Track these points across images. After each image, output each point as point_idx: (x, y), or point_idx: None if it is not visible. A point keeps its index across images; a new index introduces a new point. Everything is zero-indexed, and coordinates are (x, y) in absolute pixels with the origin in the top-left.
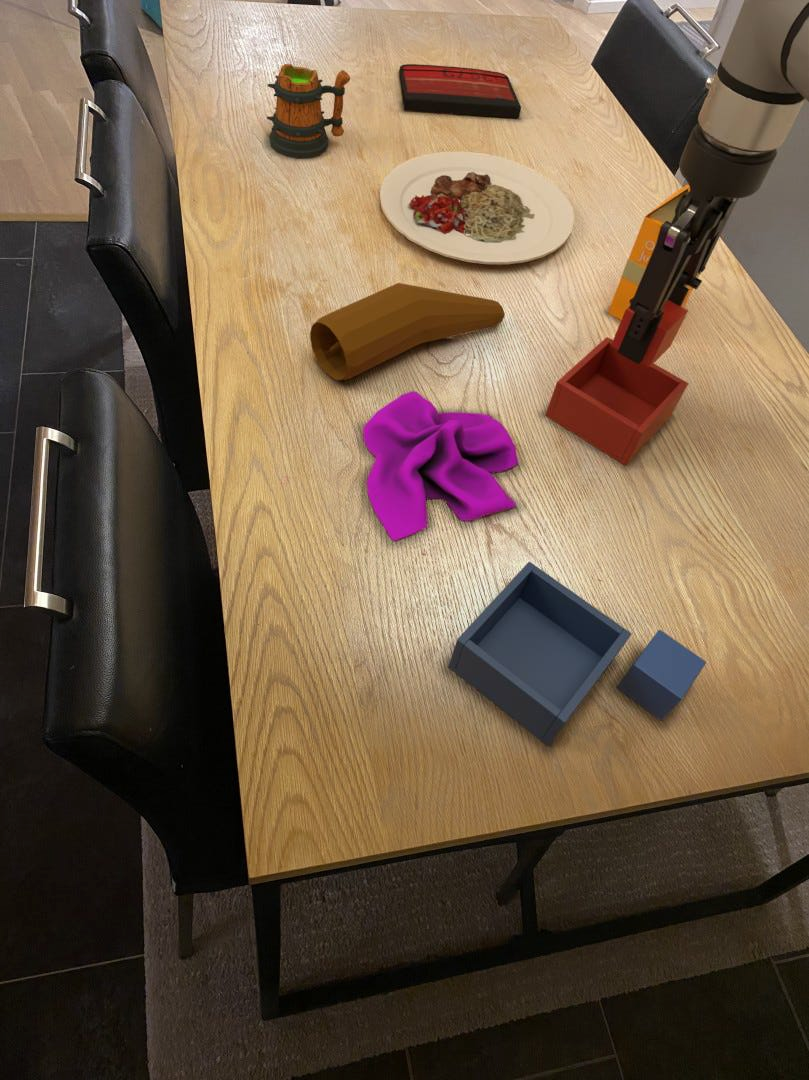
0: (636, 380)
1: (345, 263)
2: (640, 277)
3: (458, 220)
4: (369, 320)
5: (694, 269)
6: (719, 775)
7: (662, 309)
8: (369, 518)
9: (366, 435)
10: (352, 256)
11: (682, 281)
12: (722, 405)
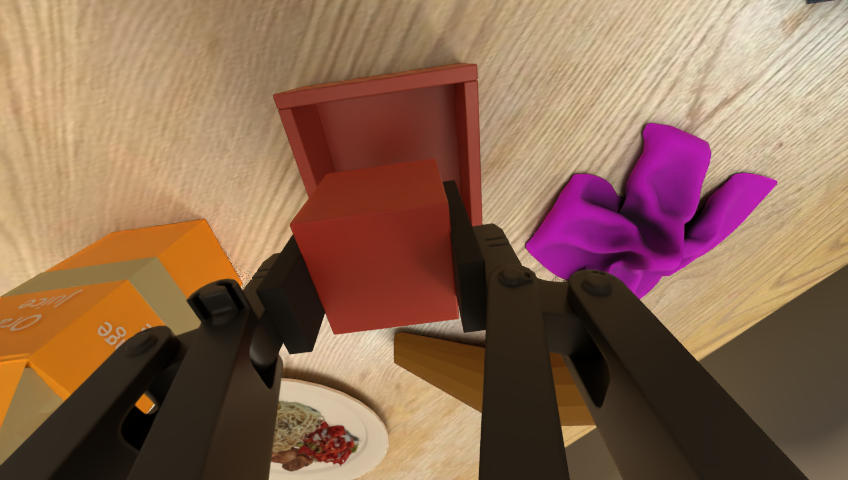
0: (327, 173)
1: (453, 429)
2: (185, 318)
3: (320, 434)
4: (586, 407)
5: (232, 376)
6: None
7: (367, 270)
8: (749, 219)
9: (641, 295)
10: (440, 432)
11: (265, 328)
12: (180, 35)
